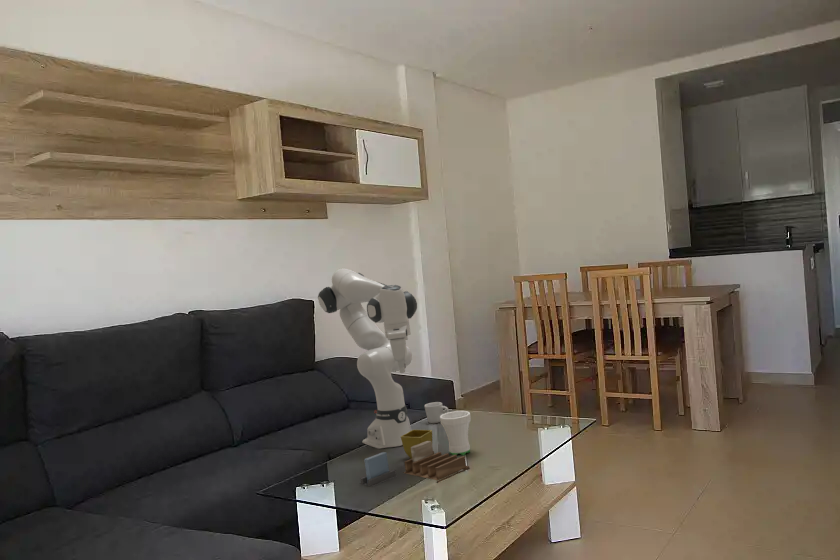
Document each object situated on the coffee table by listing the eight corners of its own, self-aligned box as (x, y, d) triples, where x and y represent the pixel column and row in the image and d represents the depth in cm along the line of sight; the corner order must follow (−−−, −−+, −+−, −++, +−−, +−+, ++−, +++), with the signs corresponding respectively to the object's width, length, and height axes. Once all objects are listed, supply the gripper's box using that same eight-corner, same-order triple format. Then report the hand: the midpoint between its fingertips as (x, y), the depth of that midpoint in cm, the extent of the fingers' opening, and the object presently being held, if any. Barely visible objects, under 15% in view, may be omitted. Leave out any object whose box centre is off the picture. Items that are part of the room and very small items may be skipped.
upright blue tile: (367, 482, 222) (364, 459, 222) (386, 475, 228) (382, 452, 228) (371, 483, 221) (367, 459, 221) (389, 476, 226) (386, 452, 226)
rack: (403, 475, 228) (399, 449, 228) (434, 461, 238) (431, 437, 238) (437, 482, 216) (434, 455, 216) (469, 468, 226) (466, 442, 226)
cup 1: (453, 419, 298) (450, 401, 297) (446, 424, 290) (444, 405, 290) (430, 419, 302) (428, 402, 302) (423, 424, 295) (421, 406, 295)
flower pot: (423, 461, 240) (420, 437, 240) (403, 460, 245) (399, 436, 245) (435, 454, 248) (432, 430, 248) (416, 453, 252) (412, 429, 252)
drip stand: (359, 485, 223) (358, 477, 223) (385, 475, 231) (383, 467, 231) (372, 489, 218) (371, 481, 218) (398, 478, 226) (397, 470, 225)
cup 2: (473, 456, 238) (468, 417, 238) (442, 459, 241) (437, 419, 240) (476, 447, 249) (471, 409, 249) (447, 449, 252) (442, 412, 251)
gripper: (390, 329, 246) (395, 367, 246) (386, 335, 225) (392, 376, 226) (407, 327, 246) (412, 364, 246) (405, 332, 225) (411, 373, 226)
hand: (403, 370), depth 236 cm, fingers open, 8 cm apart
